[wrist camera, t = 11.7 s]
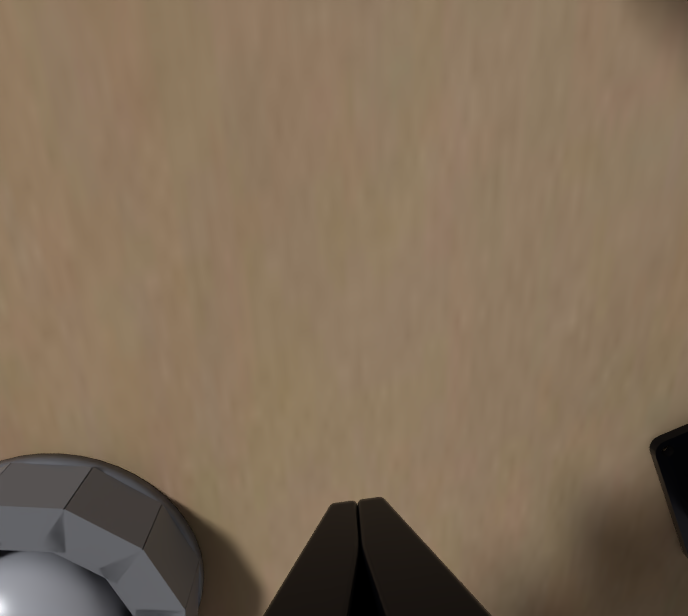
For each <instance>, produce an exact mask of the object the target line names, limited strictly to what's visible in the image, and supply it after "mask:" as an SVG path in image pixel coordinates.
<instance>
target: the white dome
mask: <svg viewBox="0 0 688 616" xmlns="http://www.w3.org/2000/svg"><path fill="white" fill-rule="evenodd" d="M0 616H131V612H130V611H129V609H128V608H127V607H126V605H125V604H124V603H123V601H122V600H121V599H120V597H119V596H118V595H117V593H116V592H115V590H114V589H113V588H112V586H111V585H110V584H109V582H108V581H107V580H106V578H104V577H102V576H100V575H98V574H96V573H94V572H92V571H90V570H88V569H86V568H84V567H82V566H80V565H78V564H75V563H73V562H71V561H69V560H67V559H65V558H63V557H61V556H59V555H57V554H55V553H53V552H38V551H14V550H0Z"/></svg>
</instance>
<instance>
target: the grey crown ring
mask: <svg viewBox="0 0 688 616" xmlns="http://www.w3.org/2000/svg"><path fill="white" fill-rule="evenodd" d="M0 550H14V551H38V552H53V553H55V554H57V555H59V556H61V557H63V558H65V559H67V560H69V561H71V562H73V563H75V564H78V565H80V566H82V567H84V568H86V569H88V570H90V571H92V572H94V573H96V574H98V575H100V576H102V577H104V578H106V580H107V581H108V582H109V584H110V585H111V586H112V588H113V589H114V590H115V592H116V593H117V595H118V596H119V597H120V599H121V600H122V601H123V603H124V604H125V605H126V607H127V608H128V609H129V611H130V612H131V616H198V608H199V604H200V601H201V597H202V592H203V583H204V570H203V561H202V556H201V552H200V548H199V546H198V543H197V540H196V538H195V535H194V533H193V532H192V530H191V528H190V526H189V525H188V523H187V521H186V520H185V518H184V517H183V516H182V514H181V513H180V512H179V511H178V509H177V508H176V507H175V506H174V505H173V504H172V503H171V502H170V501H169V500H168V499H167V498H166V497H165V496H164V495H163V494H162V493H160V492H159V491H158V490H157V489H155V488H154V487H153V486H152V485H150V484H149V483H147V482H146V481H144V480H142V479H141V478H139V477H137V476H136V475H134V474H132V473H130V472H128V471H126V470H123V469H121V468H119V467H117V466H114V465H111V464H108V463H105V462H103V461H100V460H96V459H91V458H87V457H82V456H76V455H67V454H33V455H24V456H18V457H14V458H10V459H6V460H2V461H0Z"/></svg>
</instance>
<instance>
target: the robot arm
mask: <svg viewBox="0 0 688 616" xmlns="http://www.w3.org/2000/svg"><path fill="white" fill-rule="evenodd" d="M666 446H668V447H667V449H666V450H664V451H662V449H663V448H664V447H666ZM650 453H651V456H652V459H653V462H654V465H655V468H656V471H657V474H658V477H659V480H660V483H661V486H662V489H663V492H664V495H665V498H666V501H667V504H668V507H669V510H670V513H671V517H672V520H673V523H674V526H675V529H676V532H677V535H678V538H679V541H680V544H681V547H682V550H683V553H684V554H685V556H686V557H687V558H688V424H686V425H684V426H682V427H679V428H677V429H674V430H672V431H670V432H667V433H665V434H662V435H660V436H658V437H656V438H655V439H654V440H653V441H652V442H651V444H650ZM263 616H491V614H490V613H489V612H488V611H487V610H486V609H485V608H484V607H483V606H482V605H481V604H480V602H479V601H478V600H477V599H476V598H475V597H474V596H473V595H472V594H471V593H470V592H469V591H468V589H467V588H466V587H465V586H464V585H463V584H462V583H461V582H460V581H459V580H458V579H457V577H456V576H455V575H454V574H453V573H452V572H451V571H450V570H449V569H448V568H447V567H446V565H445V564H444V563H443V562H442V561H441V560H440V559H439V558H438V557H437V556H436V555H435V553H434V552H433V551H432V550H431V549H430V548H429V547H428V546H427V545H426V544H425V543H424V542H423V540H422V539H421V538H420V537H419V536H418V535H417V534H416V533H415V532H414V531H413V530H412V528H411V527H410V526H409V525H408V524H407V523H406V522H405V521H404V520H403V519H402V518H401V516H400V515H399V514H398V513H397V512H396V511H395V510H394V509H393V508H392V507H391V506H390V504H389V503H388V502H387V501H386V500H385V499H384V498H382V497H376V498H368V499H362V500H360V501H359V502H358V506H357V503H356V502H355V501H346V502H339V503H333V504H331V505H330V506H329V508H328V510H327V511H326V513H325V515H324V516H323V518H322V520H321V521H320V523H319V525H318V526H317V528H316V530H315V531H314V533H313V534H312V536H311V538H310V539H309V541H308V543H307V544H306V546H305V548H304V549H303V551H302V553H301V554H300V556H299V557H298V559H297V561H296V562H295V564H294V566H293V567H292V569H291V571H290V572H289V574H288V576H287V577H286V579H285V581H284V582H283V584H282V585H281V587H280V589H279V590H278V592H277V594H276V595H275V597H274V599H273V600H272V602H271V604H270V605H269V607H268V608H267V610H266V612H265V613H264V615H263Z"/></svg>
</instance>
